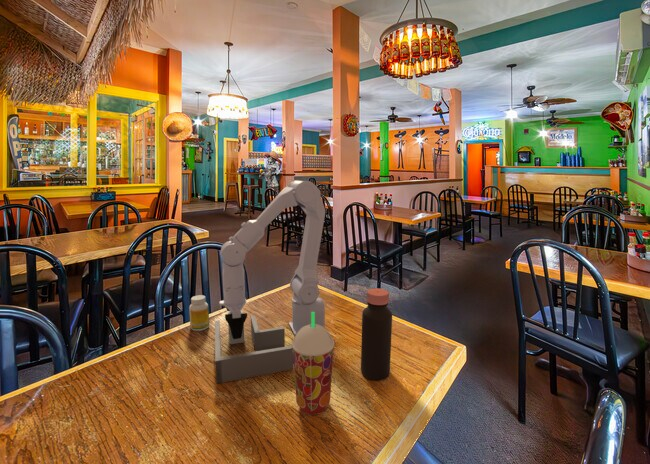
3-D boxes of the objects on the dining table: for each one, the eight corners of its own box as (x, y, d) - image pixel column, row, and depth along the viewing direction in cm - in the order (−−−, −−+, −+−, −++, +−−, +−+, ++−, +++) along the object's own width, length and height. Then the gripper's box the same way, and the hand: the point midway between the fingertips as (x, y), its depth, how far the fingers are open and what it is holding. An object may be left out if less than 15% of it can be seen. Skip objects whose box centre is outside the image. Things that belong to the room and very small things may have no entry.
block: (243, 335, 95) (242, 309, 93) (244, 342, 91) (243, 315, 89) (228, 337, 93) (227, 311, 92) (229, 344, 90) (228, 316, 88)
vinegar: (387, 384, 73) (390, 299, 69) (357, 377, 75) (359, 295, 72) (391, 367, 79) (395, 288, 76) (364, 362, 82) (366, 285, 78)
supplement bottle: (188, 326, 100) (185, 296, 98) (205, 321, 103) (203, 292, 101) (194, 333, 96) (191, 302, 94) (212, 328, 99) (210, 297, 97)
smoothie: (292, 392, 70) (291, 304, 66) (331, 390, 71) (332, 303, 67) (292, 421, 62) (290, 323, 58) (336, 419, 63) (337, 321, 59)
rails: (277, 330, 98) (277, 312, 97) (293, 369, 78) (293, 348, 77) (215, 339, 92) (214, 321, 91) (216, 383, 73) (215, 361, 72)
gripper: (218, 278, 95) (220, 322, 97) (218, 296, 81) (221, 346, 84) (243, 276, 97) (245, 319, 99) (248, 293, 83) (250, 342, 86)
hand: (236, 331), depth 92 cm, fingers open, 7 cm apart
